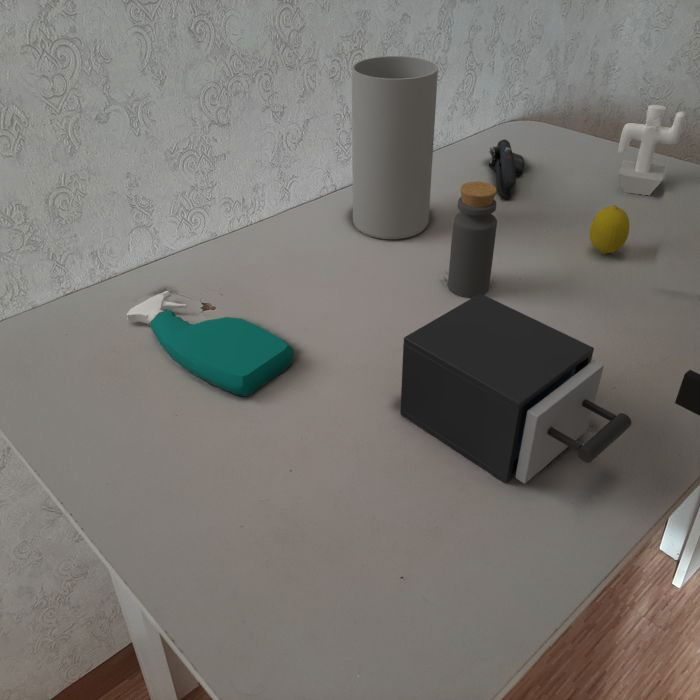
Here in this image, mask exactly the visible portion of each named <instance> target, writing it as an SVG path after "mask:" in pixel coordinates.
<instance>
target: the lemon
mask: <svg viewBox="0 0 700 700" xmlns="http://www.w3.org/2000/svg"><path fill="white" fill-rule="evenodd" d="M629 219H630V218H629V216H628V214H627V213H626V211H625V210H623V209H622V208H620V207H618V205H616V204H613V205H611V206H606V207H604V208H602V209H600V210H599V211H598V212H597V213H596V214H595V215H594V217H593V219H592V221H591V224H590V227H589V240H590V243H591V245H592V246H593V247H594V248H595V250H597V251H598V252H600V253H601V254H602V255H607V254H609V253H610V254H611V253H614V252H617V251H619V250H620V249H621V248H622V247H623V246H624V245H625V244H626V242H627V239H628V237H629V234H630V220H629Z"/></svg>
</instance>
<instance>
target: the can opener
mask: <svg viewBox="0 0 700 700" xmlns="http://www.w3.org/2000/svg"><path fill="white" fill-rule="evenodd" d="M488 153H489V154H490V156H491V157H490V161H489V162H488V167H489V168H490V169H492V170H493V171H495V172H496V187H497V191H498V195H499V196H500V198H501V199H503V200H509V199H511V198H512V188H514V187H515V186H516V183H517V182H516V181H517V176H521V175H523V174H524V171H525V167H526V165H525V159H524V157H523V156H522V155H521V154H518V153H516V152H513V149H512V146H511V143H510V141H509V140H508V139H501V140H499V141H498V142H497V145H496V146H494V145H493V146H490V147H489V151H488Z"/></svg>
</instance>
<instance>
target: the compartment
mask: <svg viewBox="0 0 700 700" xmlns="http://www.w3.org/2000/svg"><path fill="white" fill-rule="evenodd" d="M604 369H605V364H603V363H601V362H600V361H597V360H595V359H594V360H591V363H589V364H588V365H587V366H586V367H584V368H583V369H582V370H580V371H579V372H578V373H576V374H575V371H576V367H575V368H573V369H572V370H571V371H569V372H568V373H567V374H566V375H564V376H563V377H562V378H560V379H559V380H558V381H556V382H555V383H554V384H552V385H551V386H550V387H548V388H547V389H546V390H544V391H543V392H542V393H540V394H539V395H538V396H536V397H535V398H534V399H533V400H531V401H530V402H529V403H527V404H526V405H525V406H523V413H522V419H521V424H520V430H519V436H518V441H517V447H516V452H515V458H514V460H515V459H517V458H518V457H519V460H518V465H517V470H516V476H515V477H514V478H515V479H516V480H518V481H519V482H521V483H522V484H525V485H526V483H528V482H529V481H530V480H531V479H533V478H534V477H535V476H536V475H537V474H538V473H539V472H540V471H542V470H543V469H544V468H545V467H547V465H549V464H550V463H551V462H552V461H553V460H555V458H557V457H558V456H559V455H560V454H562V452H564V451H565V450H566V449H567V448H570V449H572V450H574V451H576V452H577V456H578V458H579V459H580V460H581V461H582V462H584V463H586V464H590V463H592V462H593V461H594V460H595V459H596V458H597V457H598V456H600V455H601V454H602V453H604V452H605V450H606V449H607V448H608V447H609V446H611V445H612V444H613V443H614V442H615V441H616V440H617V439H618V438H619V437H621V436H622V435H623V434H624V433H625V432H626V431H627V430H628V429H629V428H631V426H632V425H633V423H632V419H631V417H630V416H629V415H628V414H626V413H623V412H621V413H618V414H615V413H613V412H611V411H609V410H608V409H605V408H603V407H601V406H600V405H598V404H596V400H597V399H596V398H597V395H598V392H599V391H598V390H599V387H600V383H601V380H602V376H603V371H604ZM593 413H594V414H596V415H598V416H599V417H601V418H604V419H606V420H608V423H606V424H605V425H604V426H603V427H602V428H601V429H600V430H598V431H597V432H595V434H593V435H592V436H591V437H590V438H589V439H588V440H587V441H585V442H584V443H583V444H582V443H580V442H579V441H577V440H578V439H579V438H580V437H582V435H584V434H585V433H586V432H587V431H588V430H589V426H590V423H591V420H592V419H591V418H592V414H593Z"/></svg>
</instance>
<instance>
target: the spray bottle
mask: <svg viewBox="0 0 700 700" xmlns="http://www.w3.org/2000/svg"><path fill="white" fill-rule="evenodd" d="M171 294H172V293H170V291H169V290H165V291H163V292H161V293H157V294H155V295H154V296H151V297H149V298H147V299H146V300H144V301H142V302H140V303H138V304H137V305H135V306H132V307H131V308H130V309H129V310H128V312H127V313H126V319H127V323H144V324H147V325H149V326H150V329H151V331H152V332H153V335H154V336H155V337H156V339H157V341H158V342H159V344H160V345H161V347H162V348H163V349H164V351H165V352H166V353H167V354H168V356H169V357H170V358H172V360H174V361H175V363H177V364H178V365H180V366H181V367H183V368H184V369H185V370H187V371H188V372H190V373H192V374H193V375H194V376H196V377H198V378H200V379H202V380H204V381H206V382H208V383H209V384H212V385H214V386H215V387H218V388H220V389H222V390H224V391H227V392H229V393H232V394H234V395H237V396H242V397H248V396H250V395H251V394H253V393H254V392H256V391H257V390H259V389H260V388H261V387H263V386H264V385H266V384H267V383H269V382H270V381H271V380H273V379H274V378H276V377H277V376H278V375H280V374H281V373H283V372H284V371H287V369H288V368H289V366H290V365H291V364H292V362H293V361H294V354H295V352H294V348H293V347H292V346H291V345H290V344H289V343H287V342H286V341H285V340H284V339H282V338H281V337H279V336H277V335H276V334H274V333H272V332H270V331H268V330H267V329H266V328H263V327H261V326H260V325H257V324H255V323H252V322H250V321H247V320H245V319H243V318H238V317H230V316H225V317H219V318H213V319H212V318H211V319H206V320H203V321H200V322H196V323H190V322H189V321H188V320H183V318H182V317H180V316H177V315H176V313H175V312H174V311H173V310H170V309H186V308H187V304H185V303H177V302H172V301H167V300H168V299H169V298H171V297H172V295H171Z"/></svg>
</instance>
